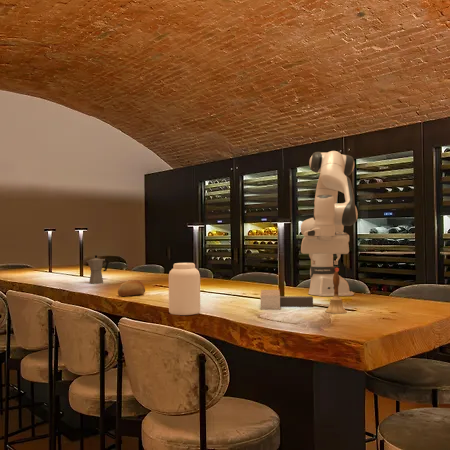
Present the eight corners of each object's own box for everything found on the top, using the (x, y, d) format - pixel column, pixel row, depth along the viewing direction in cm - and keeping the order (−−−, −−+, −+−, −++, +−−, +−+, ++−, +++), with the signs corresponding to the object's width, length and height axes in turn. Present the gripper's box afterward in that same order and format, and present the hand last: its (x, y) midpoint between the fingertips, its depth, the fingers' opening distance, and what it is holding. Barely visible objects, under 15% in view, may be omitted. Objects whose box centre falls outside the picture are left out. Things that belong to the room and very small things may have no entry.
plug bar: (312, 305, 224) (312, 296, 224) (313, 307, 220) (312, 297, 220) (275, 305, 225) (275, 296, 225) (275, 306, 221) (275, 297, 221)
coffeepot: (89, 284, 327) (88, 255, 327) (83, 283, 335) (83, 255, 335) (112, 282, 336) (111, 255, 336) (106, 281, 344) (106, 254, 344)
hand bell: (347, 311, 208) (347, 271, 208) (345, 314, 200) (345, 272, 200) (327, 310, 210) (326, 270, 211) (324, 313, 203) (323, 272, 203)
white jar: (188, 316, 198) (187, 264, 198) (162, 314, 205) (162, 263, 205) (206, 312, 209) (205, 262, 209) (181, 309, 215) (181, 261, 216)
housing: (279, 302, 233) (279, 289, 233) (280, 309, 213) (279, 295, 213) (261, 302, 234) (261, 289, 234) (260, 309, 214) (260, 295, 214)
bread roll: (149, 295, 267) (149, 279, 267) (123, 298, 258) (123, 281, 258) (140, 293, 274) (140, 278, 275) (114, 296, 265) (114, 280, 265)
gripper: (348, 232, 224) (348, 264, 224) (300, 232, 226) (300, 264, 226) (350, 232, 218) (350, 265, 217) (301, 232, 220) (301, 264, 219)
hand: (324, 264), depth 222 cm, fingers open, 8 cm apart
